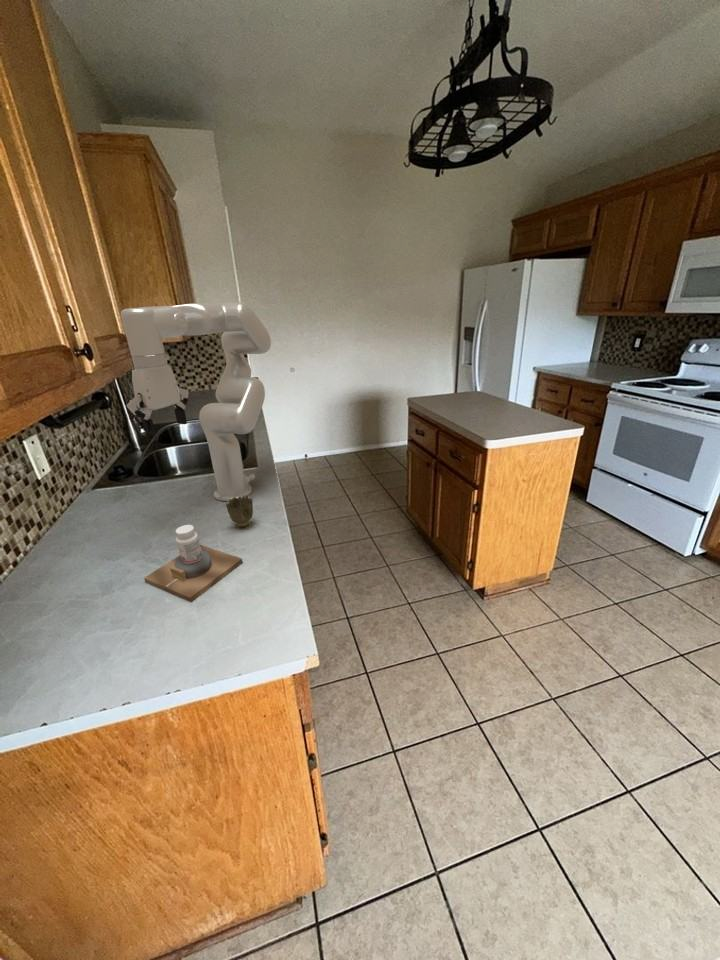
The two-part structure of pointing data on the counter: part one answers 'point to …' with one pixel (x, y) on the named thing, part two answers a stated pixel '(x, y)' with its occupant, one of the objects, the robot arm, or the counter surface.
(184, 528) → the pill bottle
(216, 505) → the counter surface
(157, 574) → the board
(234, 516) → the dark rounded piece
